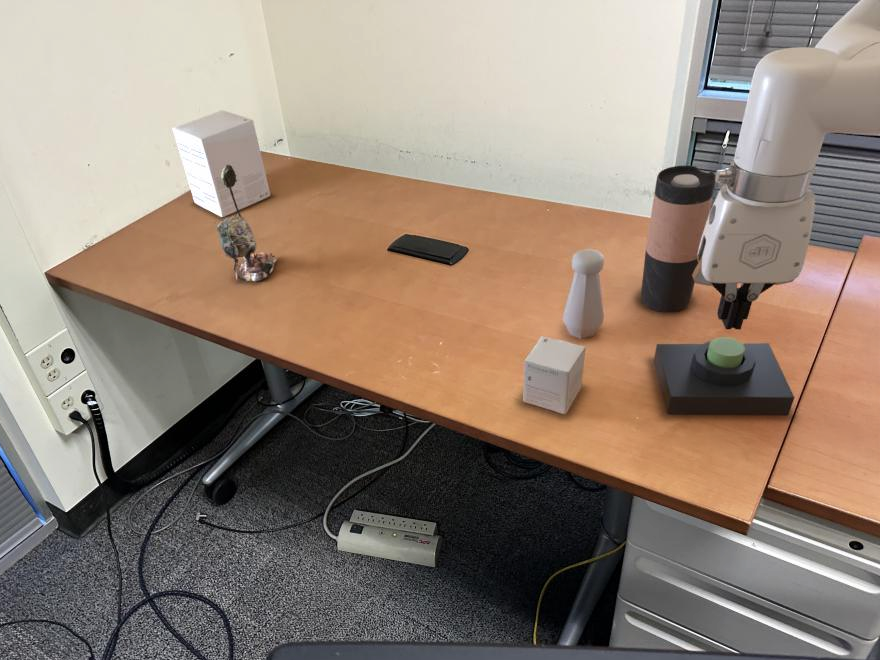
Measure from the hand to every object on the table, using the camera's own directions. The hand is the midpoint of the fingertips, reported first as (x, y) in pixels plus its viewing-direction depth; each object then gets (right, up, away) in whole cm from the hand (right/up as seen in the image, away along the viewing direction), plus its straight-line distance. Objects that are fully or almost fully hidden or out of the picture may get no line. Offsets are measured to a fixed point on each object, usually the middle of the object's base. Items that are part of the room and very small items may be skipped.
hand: (730, 322), depth 83 cm
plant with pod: (-66, +13, +46) cm, 81 cm away
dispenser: (+2, -8, +6) cm, 10 cm away
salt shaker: (-12, 0, +19) cm, 23 cm away
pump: (+1, -4, +4) cm, 6 cm away
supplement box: (-75, +35, +74) cm, 111 cm away
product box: (-19, -9, +9) cm, 23 cm away
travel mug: (+2, +6, +23) cm, 24 cm away
